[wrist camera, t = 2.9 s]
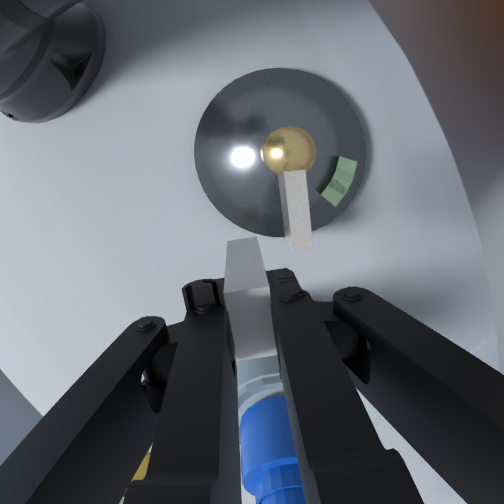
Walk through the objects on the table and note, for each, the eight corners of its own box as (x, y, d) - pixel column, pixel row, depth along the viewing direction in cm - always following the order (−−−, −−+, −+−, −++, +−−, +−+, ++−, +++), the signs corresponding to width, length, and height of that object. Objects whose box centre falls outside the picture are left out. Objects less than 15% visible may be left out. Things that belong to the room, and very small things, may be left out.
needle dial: (257, 131, 29) (261, 128, 25) (303, 127, 29) (315, 123, 25) (271, 239, 32) (277, 253, 28) (314, 233, 33) (327, 246, 28)
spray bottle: (273, 281, 35) (332, 484, 12) (314, 336, 38) (387, 520, 14) (208, 323, 37) (187, 530, 13) (253, 372, 39) (272, 560, 15)
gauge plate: (174, 100, 29) (171, 97, 28) (333, 56, 29) (337, 53, 27) (227, 255, 34) (226, 259, 33) (376, 207, 34) (382, 209, 32)
